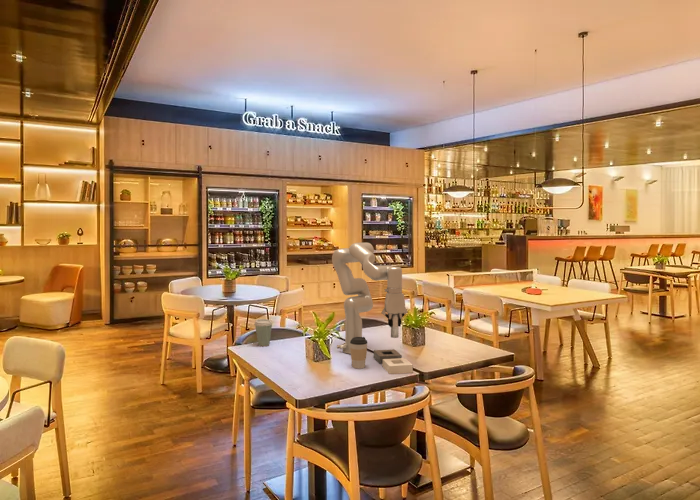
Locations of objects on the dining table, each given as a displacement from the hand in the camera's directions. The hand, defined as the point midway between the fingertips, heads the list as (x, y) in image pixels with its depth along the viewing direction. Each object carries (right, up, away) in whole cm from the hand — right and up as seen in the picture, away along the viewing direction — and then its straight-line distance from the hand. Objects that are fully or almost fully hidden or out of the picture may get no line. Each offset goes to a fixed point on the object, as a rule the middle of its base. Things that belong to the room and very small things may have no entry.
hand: (394, 325), depth 251 cm
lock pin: (0, -6, 0) cm, 6 cm away
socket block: (+1, -21, -5) cm, 22 cm away
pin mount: (-3, -20, +12) cm, 24 cm away
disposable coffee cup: (-75, -18, +40) cm, 86 cm away
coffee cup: (-19, -21, 0) cm, 28 cm away
